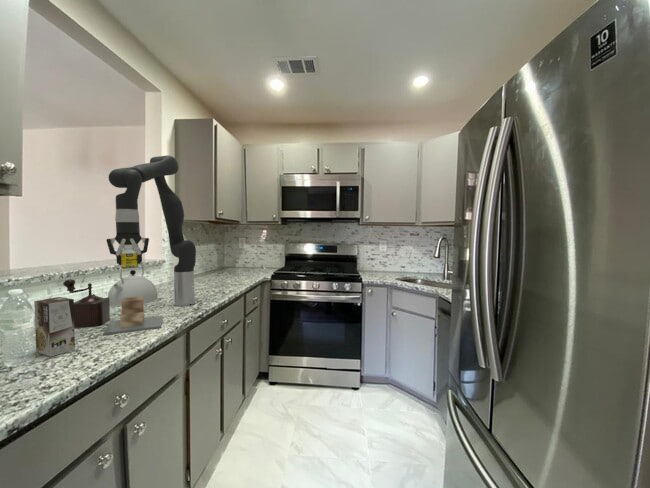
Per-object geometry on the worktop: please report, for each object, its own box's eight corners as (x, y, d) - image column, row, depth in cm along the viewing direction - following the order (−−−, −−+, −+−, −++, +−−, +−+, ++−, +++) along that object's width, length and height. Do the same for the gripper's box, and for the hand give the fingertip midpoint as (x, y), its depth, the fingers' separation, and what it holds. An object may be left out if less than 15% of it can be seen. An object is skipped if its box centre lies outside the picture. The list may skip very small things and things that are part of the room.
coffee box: (76, 349, 90) (74, 298, 89) (49, 357, 84) (48, 303, 83) (61, 344, 94) (60, 296, 93) (35, 352, 88) (33, 300, 87)
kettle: (136, 308, 140) (136, 262, 140) (91, 307, 141) (90, 262, 140) (166, 297, 165) (165, 258, 165) (127, 296, 166) (127, 258, 165)
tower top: (142, 308, 118) (142, 296, 118) (143, 312, 112) (143, 299, 112) (121, 310, 114) (121, 298, 114) (121, 314, 108) (121, 301, 108)
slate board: (162, 317, 125) (162, 315, 125) (160, 328, 111) (160, 326, 111) (112, 323, 117) (112, 321, 116) (103, 335, 102) (103, 333, 102)
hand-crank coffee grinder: (111, 318, 123) (110, 276, 123) (101, 326, 113) (100, 280, 112) (67, 321, 118) (66, 278, 117) (52, 330, 108) (50, 283, 107)
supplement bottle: (125, 270, 108) (124, 245, 107) (118, 269, 111) (117, 244, 110) (140, 269, 113) (139, 244, 112) (134, 268, 115) (133, 244, 115)
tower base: (144, 320, 118) (143, 308, 118) (142, 325, 112) (142, 312, 111) (123, 322, 115) (123, 310, 114) (120, 327, 108) (120, 314, 108)
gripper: (150, 221, 117) (151, 262, 118) (106, 221, 111) (109, 264, 112) (148, 221, 111) (150, 264, 112) (102, 221, 104) (104, 267, 105)
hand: (129, 264), depth 112 cm, fingers closed on supplement bottle, 5 cm apart
